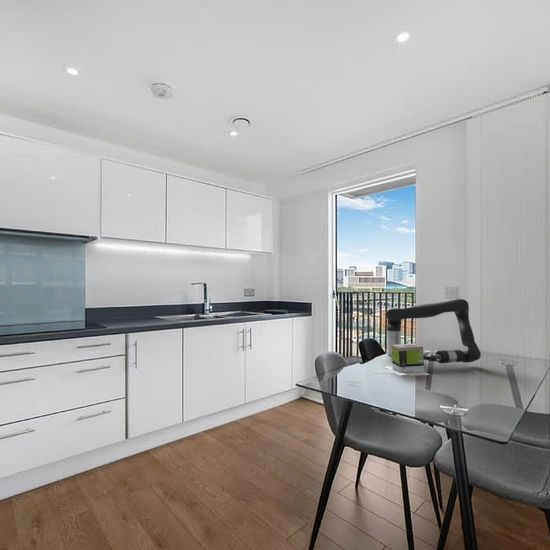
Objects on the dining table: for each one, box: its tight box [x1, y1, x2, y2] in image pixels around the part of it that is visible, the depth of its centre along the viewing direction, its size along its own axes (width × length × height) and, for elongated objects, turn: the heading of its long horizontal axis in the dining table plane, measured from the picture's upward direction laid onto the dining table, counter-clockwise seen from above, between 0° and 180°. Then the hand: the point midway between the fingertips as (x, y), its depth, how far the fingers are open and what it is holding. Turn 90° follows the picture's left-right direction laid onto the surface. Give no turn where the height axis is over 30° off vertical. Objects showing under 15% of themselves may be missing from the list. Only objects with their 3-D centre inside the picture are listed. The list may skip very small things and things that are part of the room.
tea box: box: [391, 343, 425, 373], centre depth 195 cm, size 15×10×15 cm, turn 95°
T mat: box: [384, 365, 430, 377], centre depth 195 cm, size 20×30×1 cm, turn 96°
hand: (419, 357), depth 196 cm, fingers closed
